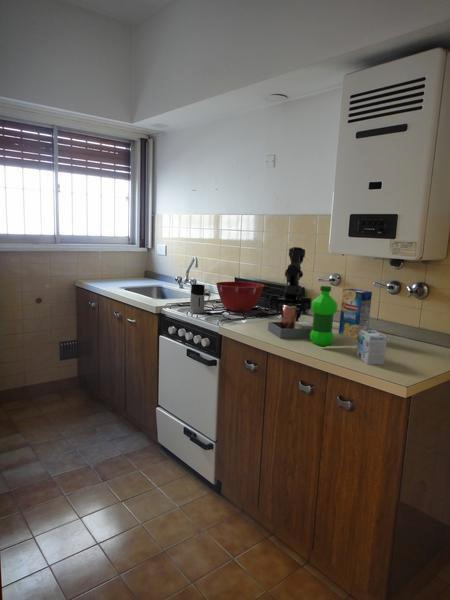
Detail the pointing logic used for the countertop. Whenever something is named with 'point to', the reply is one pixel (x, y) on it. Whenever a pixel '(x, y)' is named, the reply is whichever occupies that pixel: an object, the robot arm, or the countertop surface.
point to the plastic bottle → (323, 317)
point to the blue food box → (354, 312)
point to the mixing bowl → (239, 295)
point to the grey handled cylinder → (197, 298)
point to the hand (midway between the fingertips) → (288, 317)
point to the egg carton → (303, 325)
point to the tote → (288, 331)
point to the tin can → (288, 316)
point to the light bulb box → (371, 347)
